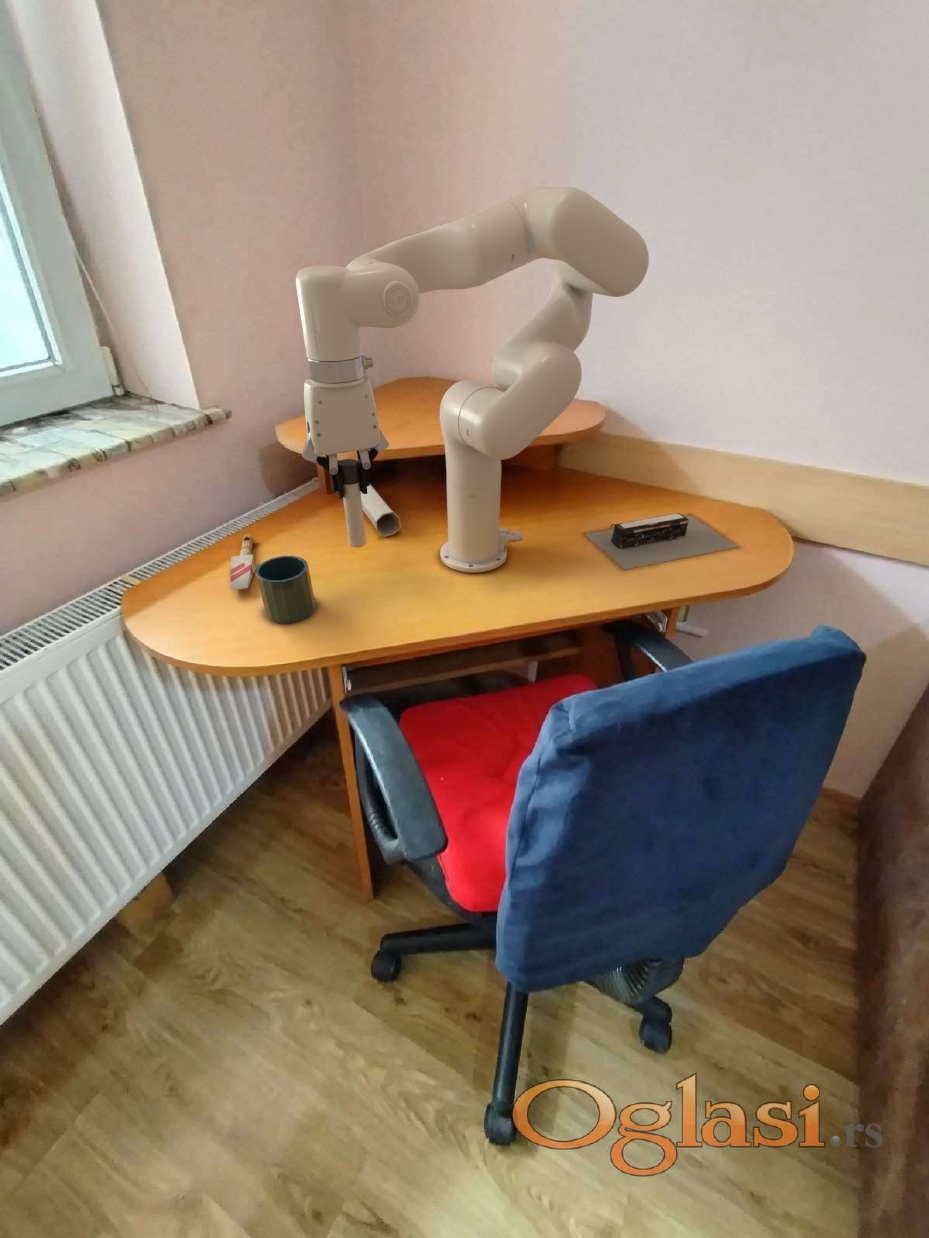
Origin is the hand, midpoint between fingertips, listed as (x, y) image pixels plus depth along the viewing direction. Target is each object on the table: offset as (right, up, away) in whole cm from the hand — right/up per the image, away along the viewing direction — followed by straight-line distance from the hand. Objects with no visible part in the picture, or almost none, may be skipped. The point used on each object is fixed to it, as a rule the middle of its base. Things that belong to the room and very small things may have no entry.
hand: (351, 492), depth 93 cm
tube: (-3, +3, +36) cm, 36 cm away
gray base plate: (+56, -5, +24) cm, 61 cm away
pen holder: (-11, -18, +6) cm, 22 cm away
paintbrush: (-23, -11, +17) cm, 30 cm away
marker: (0, -7, +5) cm, 9 cm away
